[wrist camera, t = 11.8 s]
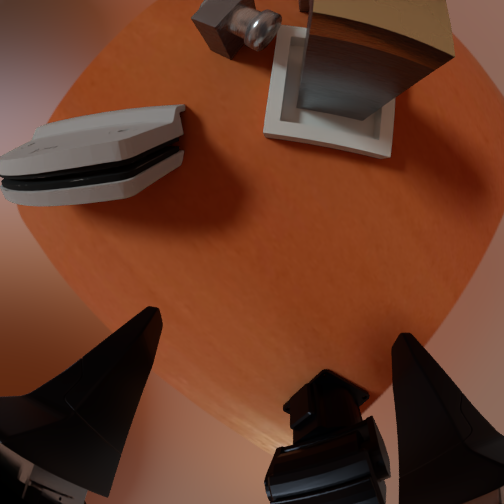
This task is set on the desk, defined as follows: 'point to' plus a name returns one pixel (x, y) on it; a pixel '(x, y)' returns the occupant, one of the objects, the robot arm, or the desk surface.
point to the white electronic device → (94, 157)
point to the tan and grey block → (370, 52)
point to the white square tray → (312, 122)
